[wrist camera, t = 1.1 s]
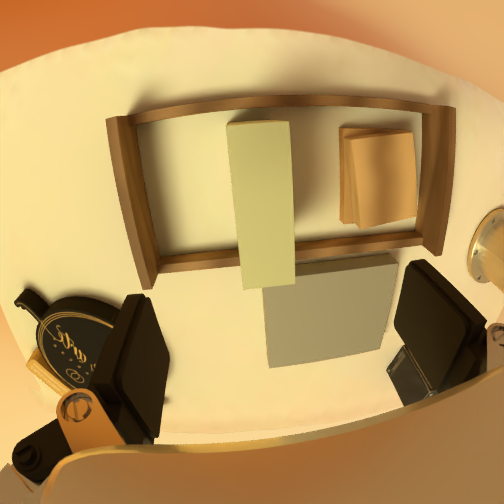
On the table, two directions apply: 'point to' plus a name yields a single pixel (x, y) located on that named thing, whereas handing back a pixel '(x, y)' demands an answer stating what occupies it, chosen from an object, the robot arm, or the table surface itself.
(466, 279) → the table surface
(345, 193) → the block
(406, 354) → the small box
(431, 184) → the frame
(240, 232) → the pale green block
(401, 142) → the upper offcut
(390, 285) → the grey board
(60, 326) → the decorative sign
